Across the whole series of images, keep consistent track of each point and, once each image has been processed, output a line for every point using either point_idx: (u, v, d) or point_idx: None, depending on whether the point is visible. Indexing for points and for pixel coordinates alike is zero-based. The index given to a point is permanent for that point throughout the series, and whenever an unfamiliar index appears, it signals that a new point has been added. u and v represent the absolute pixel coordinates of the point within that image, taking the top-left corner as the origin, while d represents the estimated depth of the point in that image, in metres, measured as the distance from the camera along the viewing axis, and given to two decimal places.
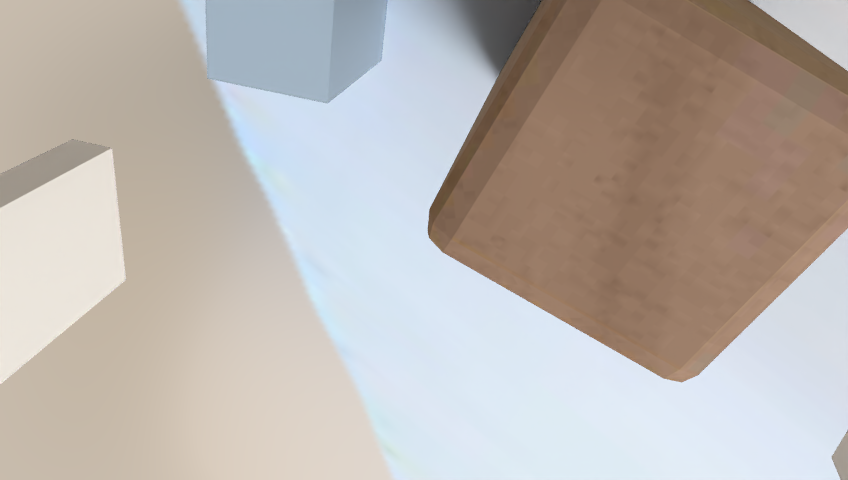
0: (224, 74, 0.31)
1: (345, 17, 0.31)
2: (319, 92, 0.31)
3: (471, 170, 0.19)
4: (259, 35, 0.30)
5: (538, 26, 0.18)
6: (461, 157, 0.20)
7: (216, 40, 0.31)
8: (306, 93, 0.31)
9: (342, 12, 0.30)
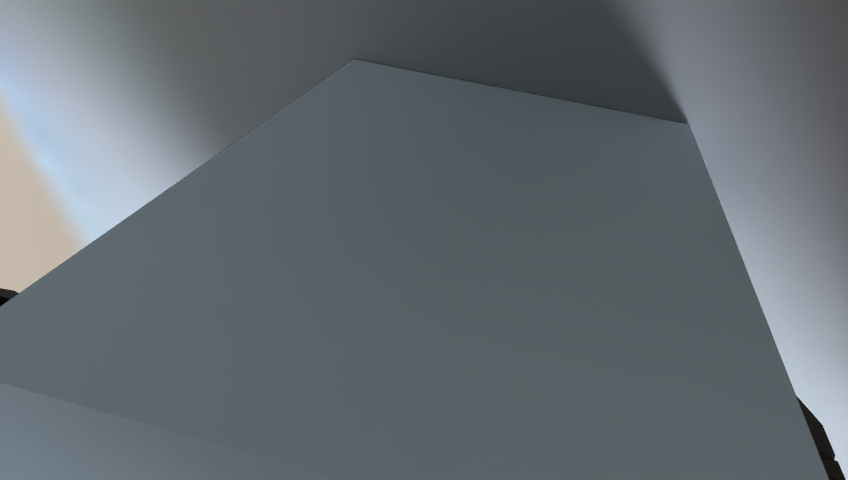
0: None
1: None
2: None
3: None
4: None
5: None
6: None
7: None
8: None
9: None
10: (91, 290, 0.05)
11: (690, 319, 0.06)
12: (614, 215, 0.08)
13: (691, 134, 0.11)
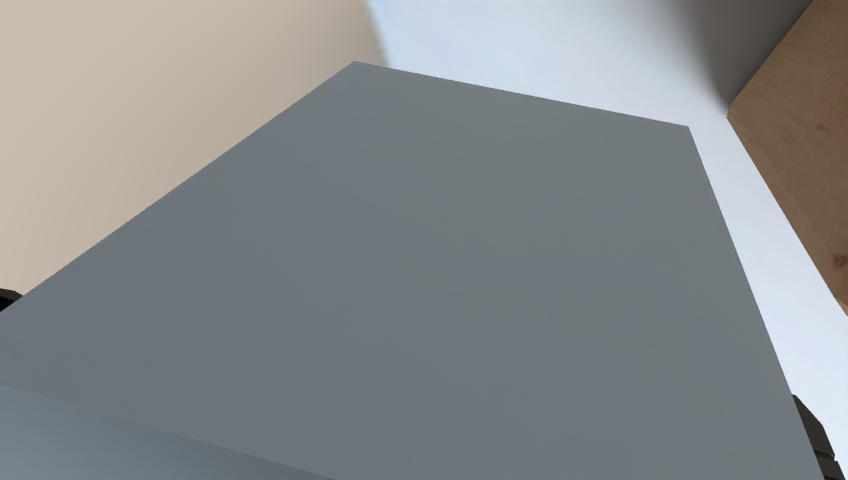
0: None
1: None
2: None
3: None
4: None
5: None
6: None
7: None
8: None
9: None
10: (94, 294, 0.05)
11: (689, 322, 0.06)
12: (613, 217, 0.08)
13: (690, 136, 0.11)
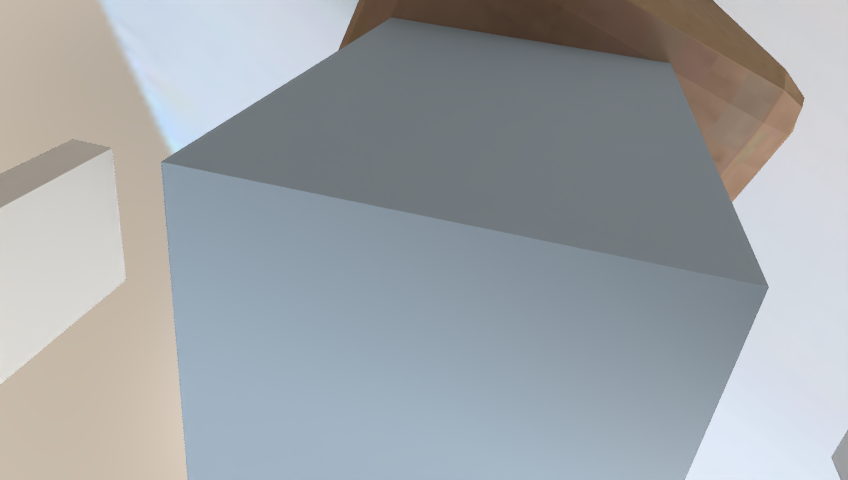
0: None
1: None
2: None
3: None
4: (375, 466, 0.08)
5: None
6: None
7: (219, 458, 0.09)
8: None
9: None
10: (247, 136, 0.08)
11: (660, 164, 0.08)
12: (607, 111, 0.10)
13: (672, 69, 0.13)
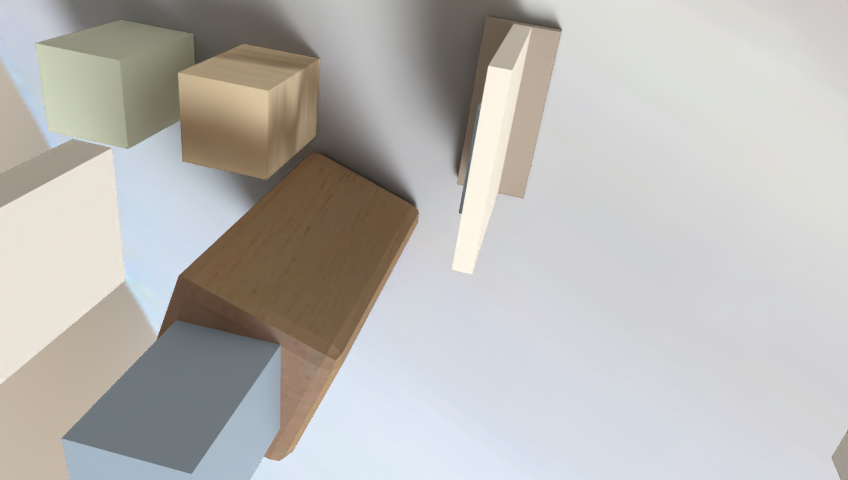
0: None
1: None
2: None
3: None
4: None
5: (171, 298, 0.37)
6: None
7: None
8: None
9: None
10: (87, 423, 0.29)
11: (208, 424, 0.30)
12: (216, 392, 0.32)
13: (276, 350, 0.35)
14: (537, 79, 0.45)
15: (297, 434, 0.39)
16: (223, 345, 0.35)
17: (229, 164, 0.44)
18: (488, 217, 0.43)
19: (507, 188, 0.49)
